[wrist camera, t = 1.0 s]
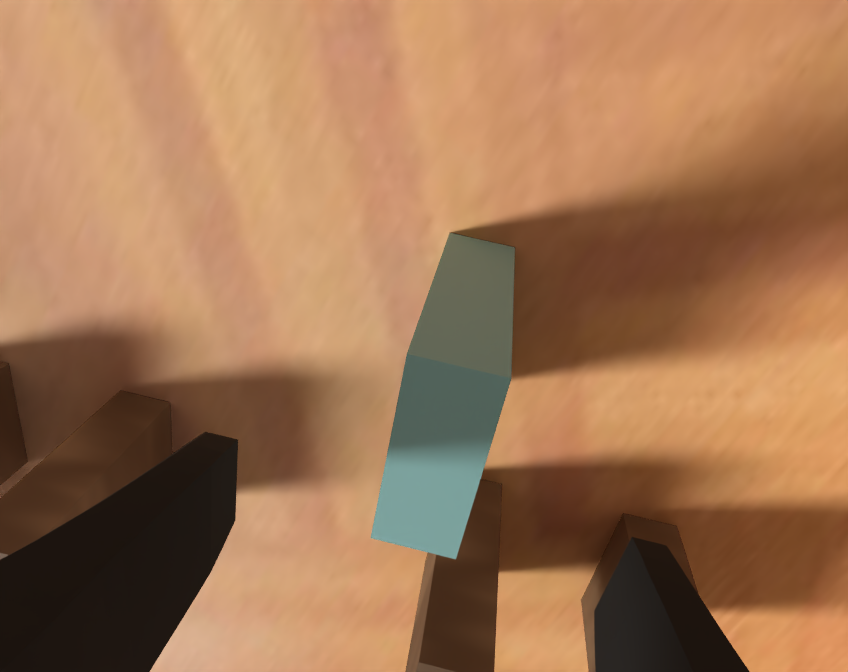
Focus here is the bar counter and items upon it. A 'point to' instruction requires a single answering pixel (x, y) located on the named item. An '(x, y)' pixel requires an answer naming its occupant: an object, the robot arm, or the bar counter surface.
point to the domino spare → (449, 399)
